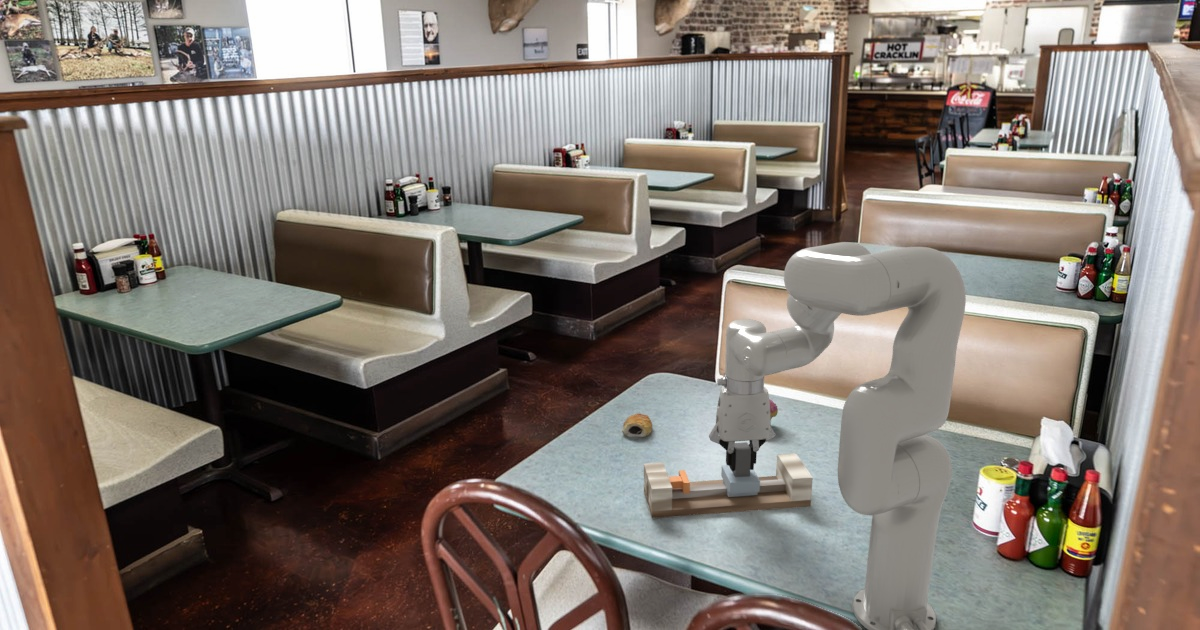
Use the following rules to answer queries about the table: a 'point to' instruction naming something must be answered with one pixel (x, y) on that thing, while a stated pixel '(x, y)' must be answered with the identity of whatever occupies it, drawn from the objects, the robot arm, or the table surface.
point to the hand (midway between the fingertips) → (740, 466)
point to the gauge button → (680, 482)
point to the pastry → (637, 426)
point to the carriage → (741, 474)
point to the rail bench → (728, 502)
